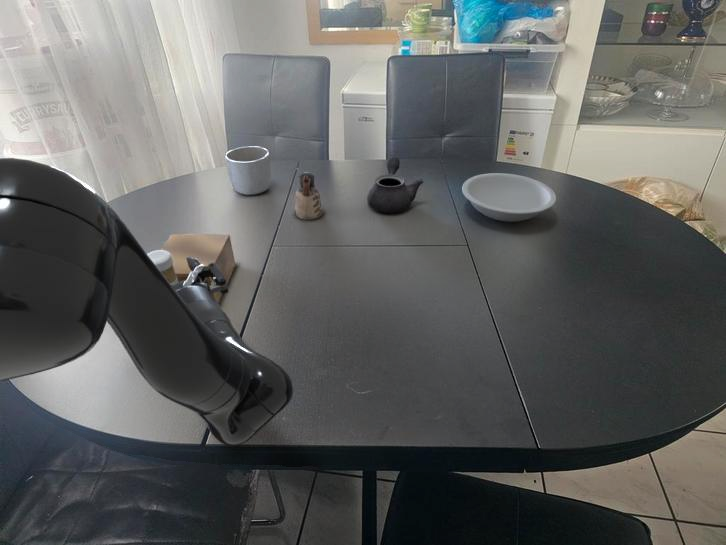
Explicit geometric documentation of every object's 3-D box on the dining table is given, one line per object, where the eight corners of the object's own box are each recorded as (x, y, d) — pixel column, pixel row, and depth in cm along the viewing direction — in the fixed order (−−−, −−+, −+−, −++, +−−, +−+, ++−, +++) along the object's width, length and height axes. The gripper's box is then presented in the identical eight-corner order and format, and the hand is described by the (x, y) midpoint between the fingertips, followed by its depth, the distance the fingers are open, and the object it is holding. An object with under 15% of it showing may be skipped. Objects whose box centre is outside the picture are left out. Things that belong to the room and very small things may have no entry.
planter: (237, 201, 127) (230, 165, 121) (226, 185, 136) (220, 150, 129) (279, 193, 132) (274, 157, 125) (266, 177, 141) (261, 143, 134)
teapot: (425, 215, 121) (428, 180, 115) (368, 216, 120) (368, 182, 114) (414, 185, 136) (417, 153, 130) (364, 186, 135) (364, 154, 129)
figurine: (324, 208, 124) (322, 167, 117) (319, 221, 118) (317, 178, 111) (299, 207, 124) (295, 166, 117) (293, 219, 119) (289, 177, 112)
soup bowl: (467, 188, 134) (470, 168, 130) (551, 201, 127) (557, 179, 123) (451, 226, 116) (454, 203, 112) (548, 243, 109) (555, 219, 105)
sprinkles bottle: (157, 316, 84) (136, 257, 76) (177, 304, 87) (159, 246, 79) (172, 326, 82) (152, 266, 74) (193, 312, 85) (176, 254, 77)
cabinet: (216, 306, 90) (208, 274, 85) (155, 305, 90) (143, 273, 85) (235, 265, 101) (229, 234, 97) (181, 264, 102) (172, 233, 97)
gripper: (241, 284, 64) (201, 237, 75) (138, 324, 57) (109, 266, 68) (249, 323, 69) (209, 273, 79) (154, 364, 62) (124, 303, 72)
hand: (163, 270), depth 74 cm, fingers open, 8 cm apart
